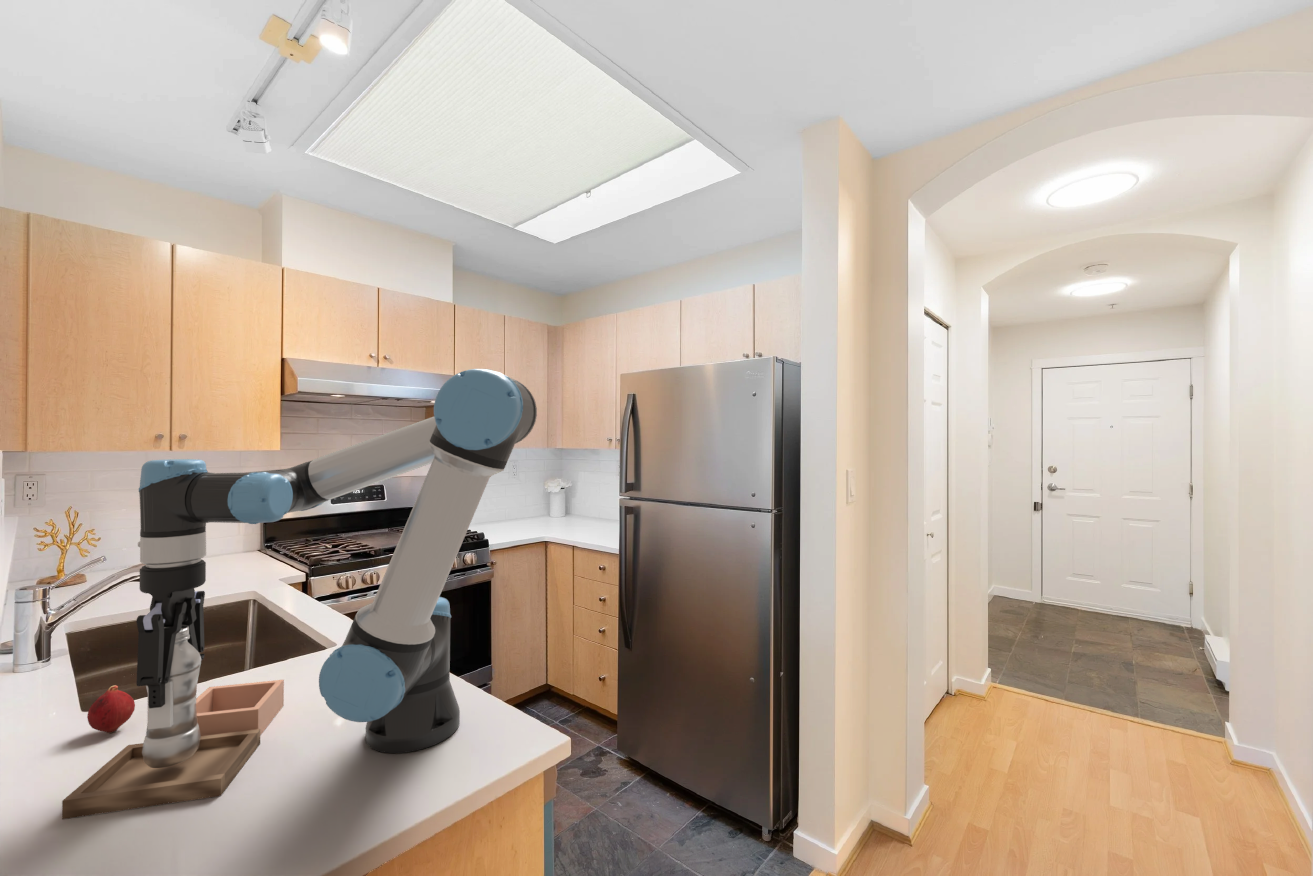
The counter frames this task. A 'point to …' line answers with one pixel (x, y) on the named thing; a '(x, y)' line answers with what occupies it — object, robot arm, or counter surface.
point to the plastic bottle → (177, 710)
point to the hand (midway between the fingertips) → (172, 715)
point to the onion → (111, 710)
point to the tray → (162, 777)
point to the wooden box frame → (239, 707)
